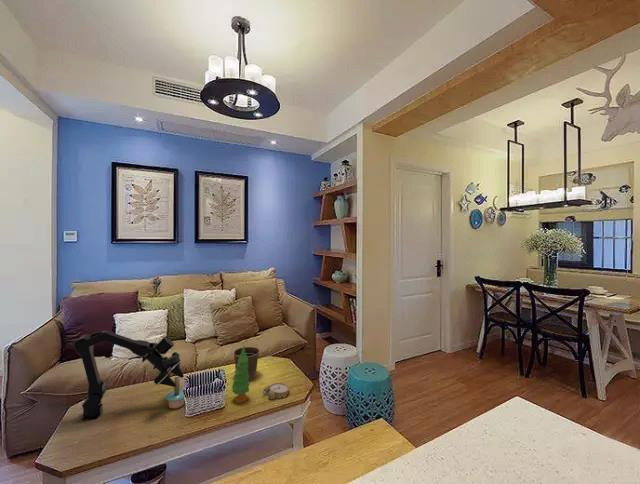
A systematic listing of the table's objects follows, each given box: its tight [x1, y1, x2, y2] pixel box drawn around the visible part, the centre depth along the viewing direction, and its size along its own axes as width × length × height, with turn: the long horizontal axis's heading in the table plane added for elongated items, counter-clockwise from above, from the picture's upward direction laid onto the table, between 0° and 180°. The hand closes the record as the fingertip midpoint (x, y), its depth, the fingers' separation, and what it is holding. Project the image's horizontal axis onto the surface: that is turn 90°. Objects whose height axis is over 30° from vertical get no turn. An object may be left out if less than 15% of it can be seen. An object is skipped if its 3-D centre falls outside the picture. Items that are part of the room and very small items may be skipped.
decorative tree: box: [231, 346, 250, 404], centre depth 155 cm, size 10×9×30 cm
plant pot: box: [232, 346, 261, 381], centre depth 180 cm, size 16×16×16 cm
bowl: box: [168, 399, 185, 410], centre depth 149 cm, size 7×7×4 cm
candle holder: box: [262, 382, 291, 400], centre depth 161 cm, size 11×5×15 cm
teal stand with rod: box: [165, 376, 184, 402], centre depth 149 cm, size 10×10×10 cm
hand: (179, 381), depth 149 cm, fingers open, 9 cm apart
